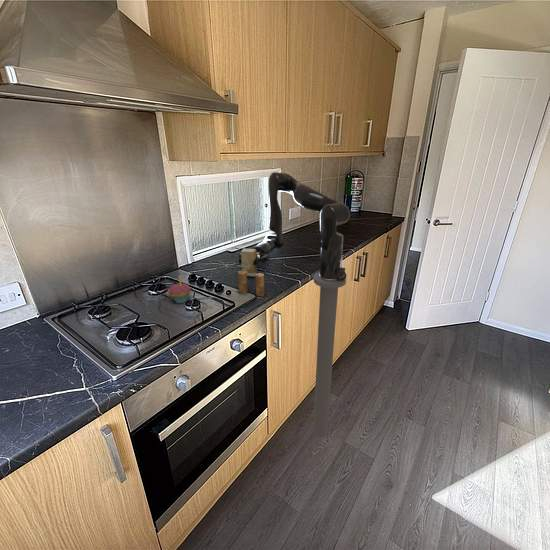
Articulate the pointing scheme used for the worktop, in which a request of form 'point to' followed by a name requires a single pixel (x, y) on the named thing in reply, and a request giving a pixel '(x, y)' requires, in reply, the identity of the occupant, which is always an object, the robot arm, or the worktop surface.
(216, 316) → the worktop surface
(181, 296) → the cupcake
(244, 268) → the cosmetic box
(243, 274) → the oak pegs
